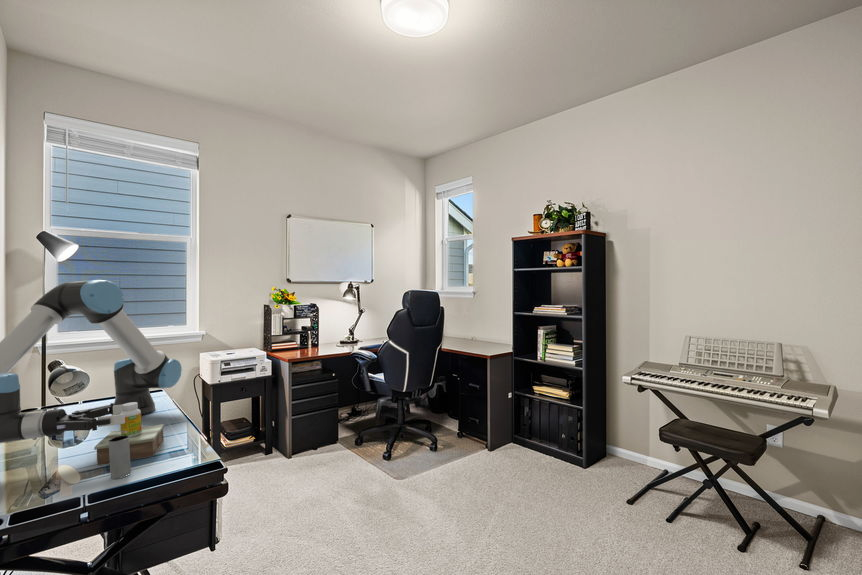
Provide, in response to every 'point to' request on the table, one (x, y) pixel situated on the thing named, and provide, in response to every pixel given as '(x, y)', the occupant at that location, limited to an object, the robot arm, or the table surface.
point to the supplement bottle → (131, 420)
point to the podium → (133, 444)
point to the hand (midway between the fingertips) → (131, 412)
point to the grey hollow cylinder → (119, 457)
